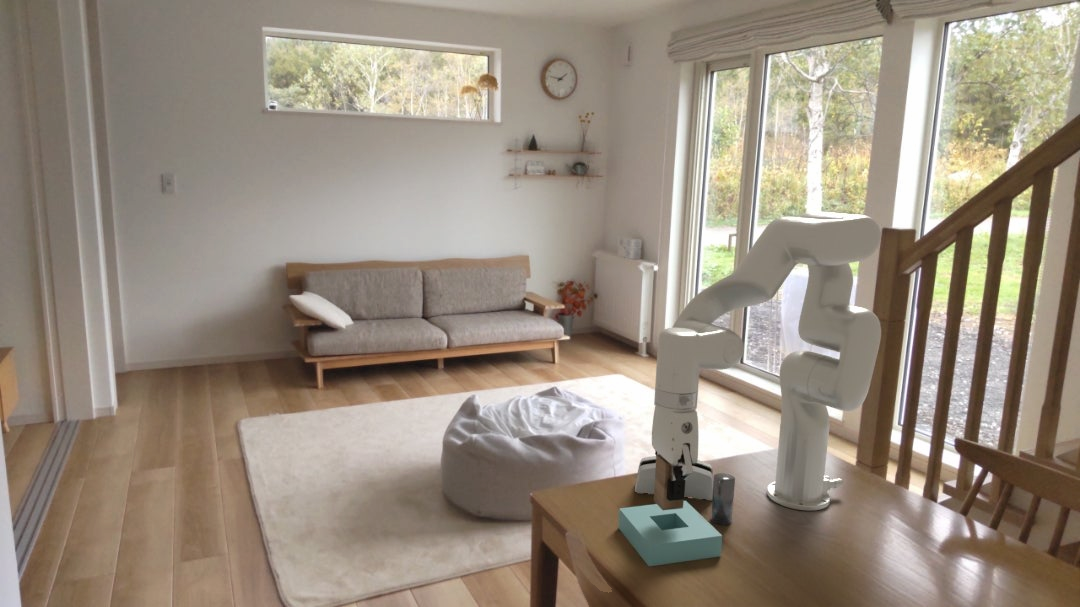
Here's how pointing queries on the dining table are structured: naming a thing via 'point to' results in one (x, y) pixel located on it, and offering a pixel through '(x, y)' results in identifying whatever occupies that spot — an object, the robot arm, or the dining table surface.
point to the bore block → (669, 534)
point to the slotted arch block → (695, 484)
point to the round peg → (722, 499)
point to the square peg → (664, 485)
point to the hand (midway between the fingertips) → (669, 492)
